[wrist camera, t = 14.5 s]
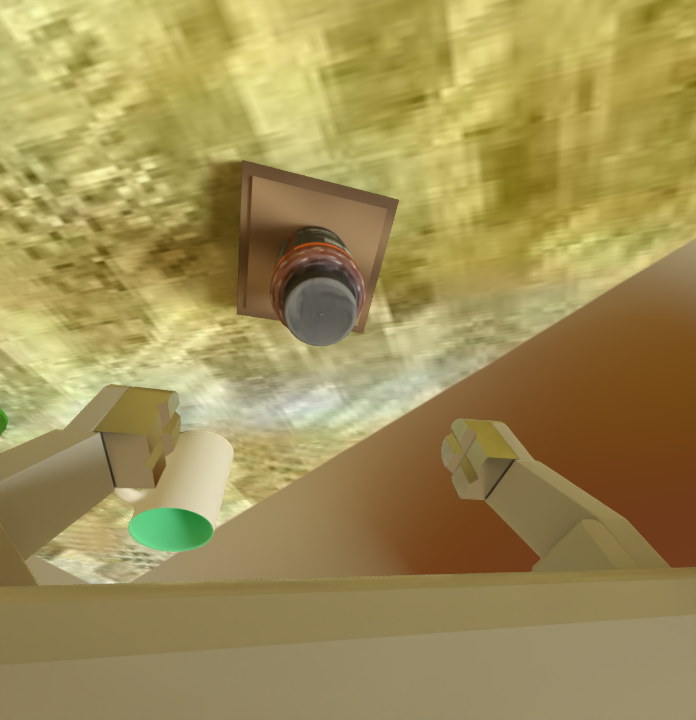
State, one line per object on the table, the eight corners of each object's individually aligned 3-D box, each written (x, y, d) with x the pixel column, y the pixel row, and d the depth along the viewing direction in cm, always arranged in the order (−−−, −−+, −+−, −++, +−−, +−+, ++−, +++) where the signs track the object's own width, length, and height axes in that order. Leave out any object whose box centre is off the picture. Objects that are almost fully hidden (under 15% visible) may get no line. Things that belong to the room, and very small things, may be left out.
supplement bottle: (287, 300, 27) (277, 370, 17) (270, 229, 24) (246, 267, 14) (353, 290, 27) (378, 353, 18) (344, 218, 24) (370, 248, 14)
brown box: (249, 161, 24) (241, 160, 21) (390, 197, 27) (400, 200, 24) (242, 302, 30) (236, 315, 27) (358, 320, 32) (363, 334, 30)
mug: (125, 444, 38) (70, 527, 29) (156, 405, 35) (106, 482, 26) (213, 479, 43) (189, 558, 34) (245, 447, 40) (228, 523, 32)
